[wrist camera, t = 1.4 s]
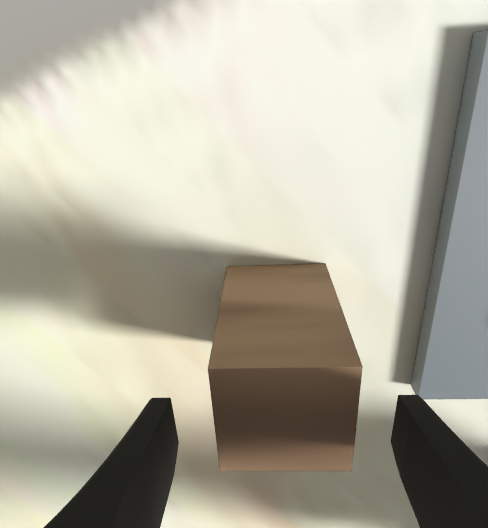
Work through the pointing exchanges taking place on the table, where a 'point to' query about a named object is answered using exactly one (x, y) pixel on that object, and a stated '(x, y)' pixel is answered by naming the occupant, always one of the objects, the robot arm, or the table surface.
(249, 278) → the peg
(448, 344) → the holder
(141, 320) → the table surface
